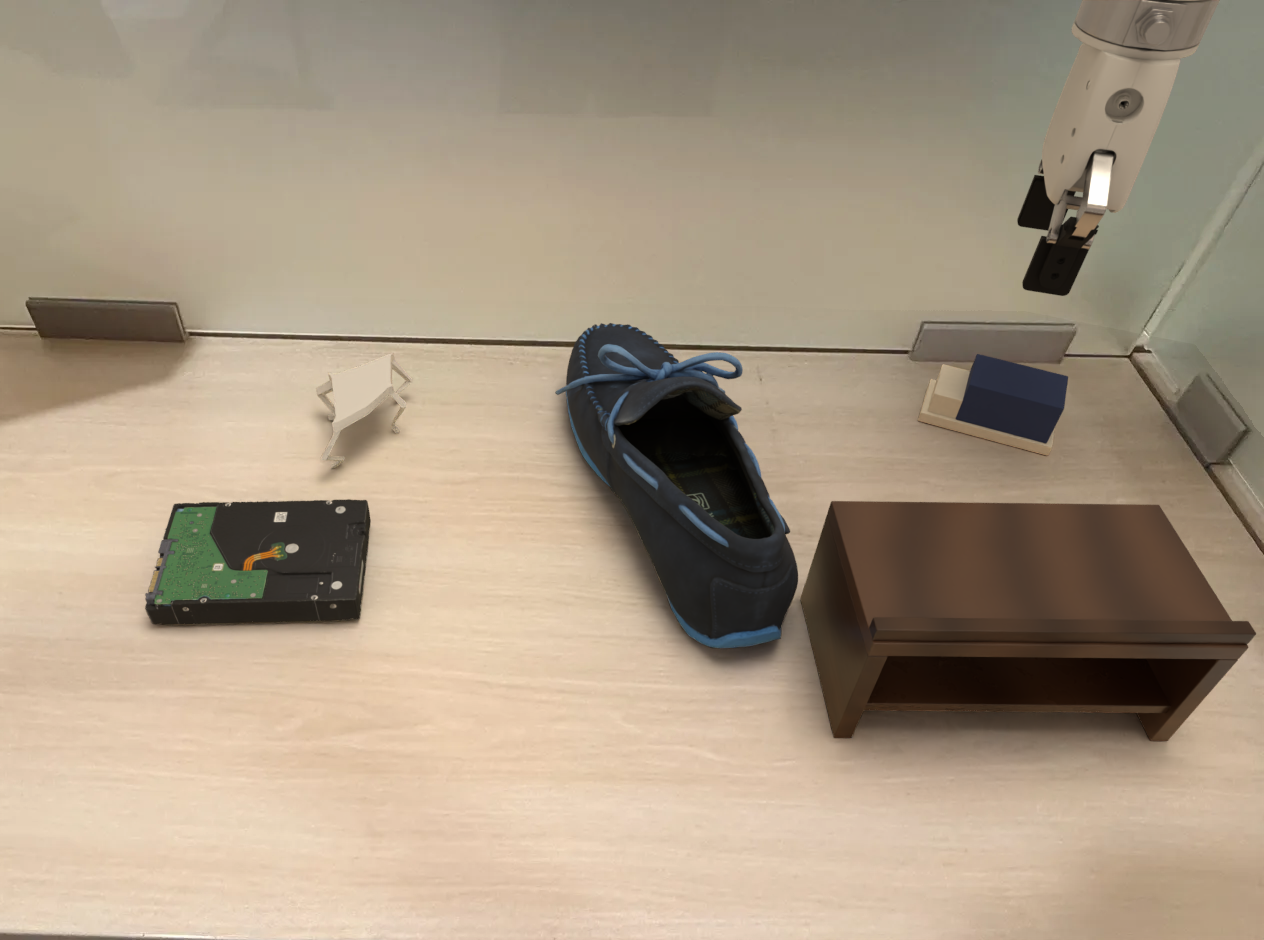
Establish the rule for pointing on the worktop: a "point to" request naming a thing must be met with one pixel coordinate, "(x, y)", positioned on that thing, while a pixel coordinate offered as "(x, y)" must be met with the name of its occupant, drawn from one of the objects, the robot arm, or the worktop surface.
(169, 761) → the worktop surface
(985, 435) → the navy box on tray
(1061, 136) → the robot arm
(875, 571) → the shoe shelf
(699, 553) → the moccasin
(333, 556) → the disk drive
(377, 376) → the cream bent-legged table
